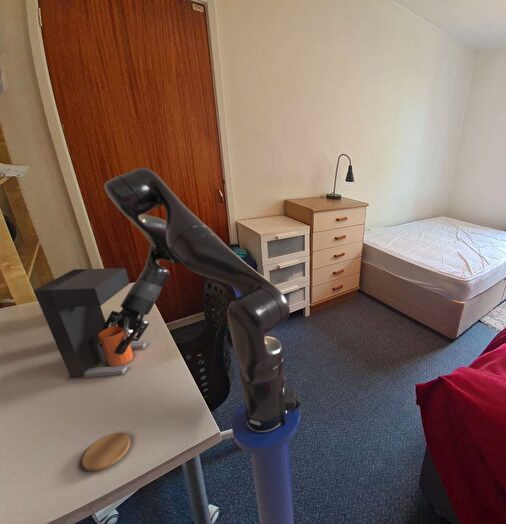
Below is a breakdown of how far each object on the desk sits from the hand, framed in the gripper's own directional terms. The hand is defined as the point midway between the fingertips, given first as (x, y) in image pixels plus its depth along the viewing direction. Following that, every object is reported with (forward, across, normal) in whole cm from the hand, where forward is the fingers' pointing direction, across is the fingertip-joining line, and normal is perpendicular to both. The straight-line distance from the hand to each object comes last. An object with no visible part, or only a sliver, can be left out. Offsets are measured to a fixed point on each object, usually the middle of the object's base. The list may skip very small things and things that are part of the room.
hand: (110, 350), depth 81 cm
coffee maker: (+3, -2, +4) cm, 5 cm away
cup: (+2, 0, +4) cm, 5 cm away
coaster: (+16, +27, -9) cm, 32 cm away
